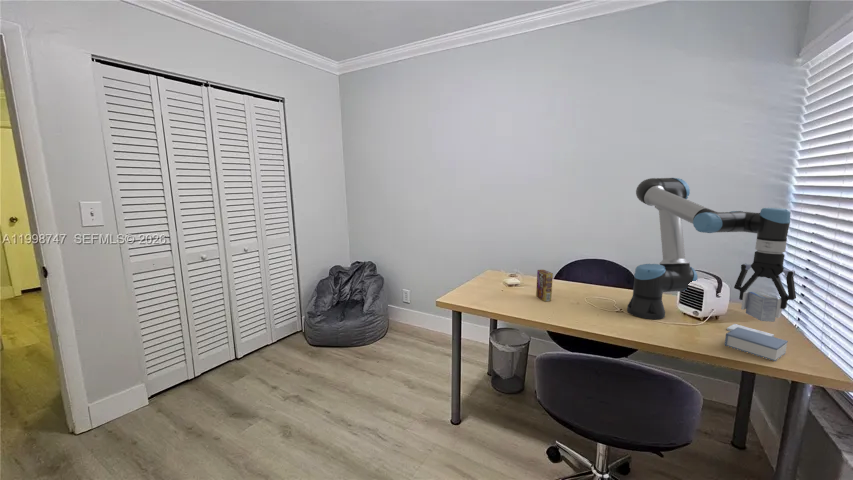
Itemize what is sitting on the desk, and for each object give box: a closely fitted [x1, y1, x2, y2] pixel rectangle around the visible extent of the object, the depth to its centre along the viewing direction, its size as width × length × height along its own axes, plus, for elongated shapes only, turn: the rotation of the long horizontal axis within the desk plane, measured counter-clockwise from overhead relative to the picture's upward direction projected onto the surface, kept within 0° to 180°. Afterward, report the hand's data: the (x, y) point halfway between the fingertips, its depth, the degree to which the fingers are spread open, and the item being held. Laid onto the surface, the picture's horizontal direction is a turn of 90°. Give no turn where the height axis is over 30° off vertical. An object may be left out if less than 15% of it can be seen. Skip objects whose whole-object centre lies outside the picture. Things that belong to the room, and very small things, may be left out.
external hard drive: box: [726, 323, 775, 337], centre depth 140 cm, size 2×8×12 cm
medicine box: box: [745, 291, 779, 323], centre depth 124 cm, size 8×4×9 cm, turn 168°
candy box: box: [535, 269, 554, 302], centre depth 183 cm, size 9×4×15 cm, turn 13°
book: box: [724, 327, 788, 362], centre depth 126 cm, size 14×11×5 cm
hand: (760, 312), depth 124 cm, fingers closed on medicine box, 9 cm apart
